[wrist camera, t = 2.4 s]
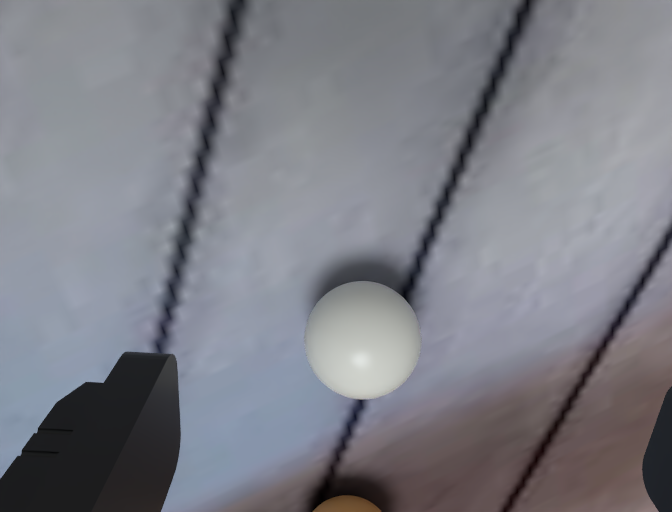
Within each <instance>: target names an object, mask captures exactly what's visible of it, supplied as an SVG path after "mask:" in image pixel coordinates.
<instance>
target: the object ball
mask: <svg viewBox="0 0 672 512" xmlns="http://www.w3.org/2000/svg"><path fill="white" fill-rule="evenodd" d="M313 512H382V511H381V510H380V509H379V508H378V507H377V506H375V505H374V504H373V503H371V502H370V501H368V500H366V499H363V498H361V497H358V496H353V495H342V496H336V497H333V498H330V499H328V500H326V501H324V502H323V503H321V504H320V505H319V506H318V507H317V508H315V509H314V511H313Z"/></svg>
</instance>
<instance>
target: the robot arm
mask: <svg viewBox="0 0 672 512" xmlns="http://www.w3.org/2000/svg"><path fill="white" fill-rule="evenodd" d="M180 437H181V431H180V410H179V391H178V371H177V361H176V358H175V356H174V355H173V354H160V353H141V352H125V353H123V354H122V356H121V357H120V358H119V360H118V362H117V363H116V365H115V366H114V368H113V369H112V371H111V372H110V374H109V376H108V377H107V379H106V380H105V382H104V383H95V382H85V383H84V384H82V385H81V386H80V387H78V388H77V389H75V390H74V391H72V392H71V393H70V394H68V395H67V396H65V397H64V398H62V399H61V400H60V401H58V402H57V403H56V404H55V406H54V407H53V408H52V410H51V411H50V412H49V414H48V415H47V416H46V418H45V419H44V421H43V422H42V423H41V425H40V426H39V427H38V432H37V433H34V434H33V435H32V437H31V438H30V440H29V441H28V442H27V444H26V445H25V446H24V448H23V449H22V454H21V456H17V457H16V459H15V460H14V461H13V463H12V464H11V465H10V467H9V468H8V470H7V471H6V472H5V474H4V475H3V476H2V478H1V479H0V512H161V510H162V507H163V504H164V501H165V499H166V496H167V493H168V490H169V487H170V485H171V482H172V479H173V476H174V473H175V470H176V466H177V462H178V456H179V450H180ZM642 471H643V480H644V484H645V487H646V490H647V493H648V495H649V497H650V499H651V500H652V502H653V503H654V505H655V506H656V508H657V509H658V511H659V512H672V387H671V388H670V389H669V390H668V392H667V393H666V396H665V398H664V401H663V404H662V407H661V410H660V412H659V415H658V418H657V421H656V424H655V427H654V429H653V432H652V435H651V438H650V441H649V444H648V446H647V449H646V452H645V455H644V459H643V466H642Z"/></svg>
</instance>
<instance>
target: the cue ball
mask: <svg viewBox="0 0 672 512" xmlns="http://www.w3.org/2000/svg"><path fill="white" fill-rule="evenodd" d="M304 342H305V351H306V356H307V359H308V362H309V364H310V366H311V368H312V370H313V371H314V373H315V375H316V376H317V377H318V379H319V380H320V381H321V382H322V383H323V384H325V385H326V386H327V387H328V388H329V389H331V390H333V391H334V392H336V393H338V394H340V395H343V396H346V397H349V398H354V399H373V398H377V397H381V396H384V395H386V394H388V393H390V392H392V391H394V390H395V389H397V388H398V387H399V386H401V385H402V384H403V383H404V382H405V381H406V380H407V379H408V377H409V376H410V375H411V373H412V372H413V370H414V368H415V366H416V364H417V361H418V359H419V356H420V351H421V330H420V326H419V322H418V319H417V317H416V315H415V313H414V311H413V309H412V308H411V306H410V305H409V304H408V302H407V301H406V300H405V299H404V298H403V297H402V296H401V295H400V294H399V293H397V292H396V291H394V290H393V289H391V288H389V287H387V286H385V285H382V284H379V283H375V282H370V281H355V282H350V283H346V284H343V285H340V286H338V287H336V288H334V289H332V290H331V291H329V292H328V293H326V294H325V295H324V296H323V297H322V298H321V299H320V300H319V301H318V302H317V304H316V305H315V306H314V308H313V310H312V311H311V313H310V316H309V318H308V320H307V324H306V328H305V335H304Z"/></svg>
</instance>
